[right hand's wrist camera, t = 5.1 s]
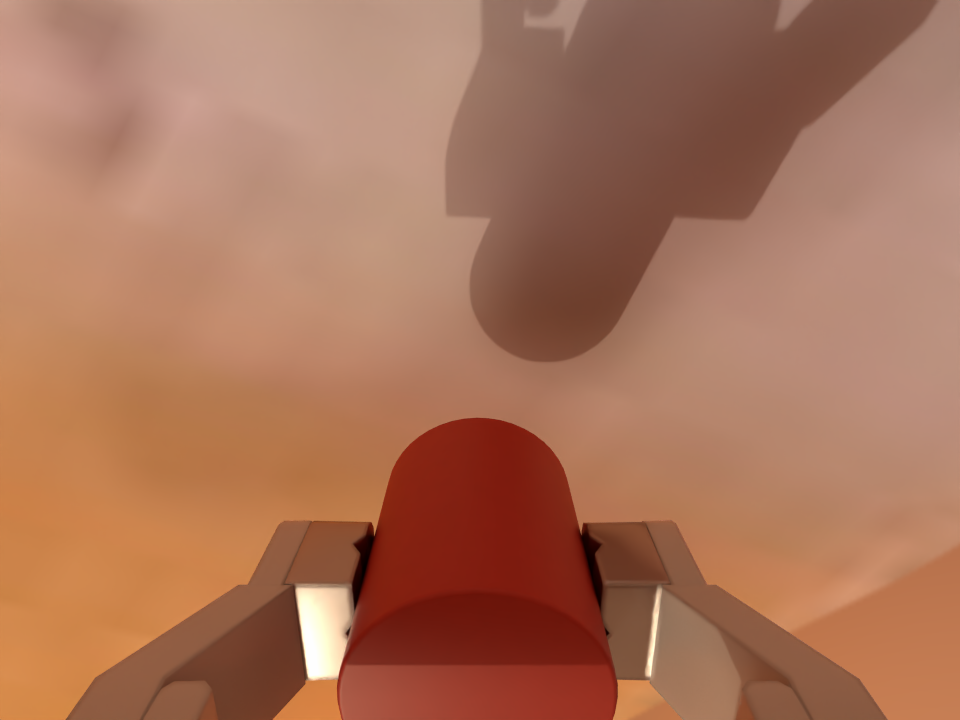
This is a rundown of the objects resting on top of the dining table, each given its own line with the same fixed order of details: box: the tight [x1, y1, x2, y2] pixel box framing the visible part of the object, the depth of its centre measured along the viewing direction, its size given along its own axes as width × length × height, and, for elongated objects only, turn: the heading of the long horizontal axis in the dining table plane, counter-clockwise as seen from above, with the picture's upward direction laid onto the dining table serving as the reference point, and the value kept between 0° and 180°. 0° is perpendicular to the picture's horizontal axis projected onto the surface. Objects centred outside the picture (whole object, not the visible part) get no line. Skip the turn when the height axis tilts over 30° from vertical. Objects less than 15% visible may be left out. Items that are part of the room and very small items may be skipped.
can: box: [337, 418, 618, 720], centre depth 10 cm, size 4×4×5 cm
